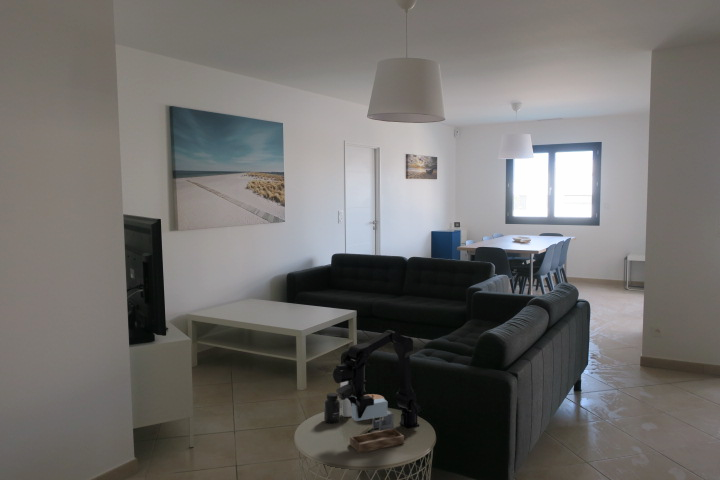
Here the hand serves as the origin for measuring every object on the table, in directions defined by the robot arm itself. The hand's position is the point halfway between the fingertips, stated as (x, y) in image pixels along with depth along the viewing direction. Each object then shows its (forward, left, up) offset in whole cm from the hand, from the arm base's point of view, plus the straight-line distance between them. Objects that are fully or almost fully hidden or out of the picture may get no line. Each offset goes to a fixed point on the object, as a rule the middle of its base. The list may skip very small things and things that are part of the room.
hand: (357, 416), depth 217 cm
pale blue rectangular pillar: (-5, 0, -1) cm, 6 cm away
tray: (-7, +4, -11) cm, 14 cm away
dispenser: (-16, -7, -11) cm, 20 cm away
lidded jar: (-19, -24, -11) cm, 33 cm away
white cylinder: (-9, -28, -11) cm, 31 cm away
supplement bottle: (0, -25, -11) cm, 27 cm away
